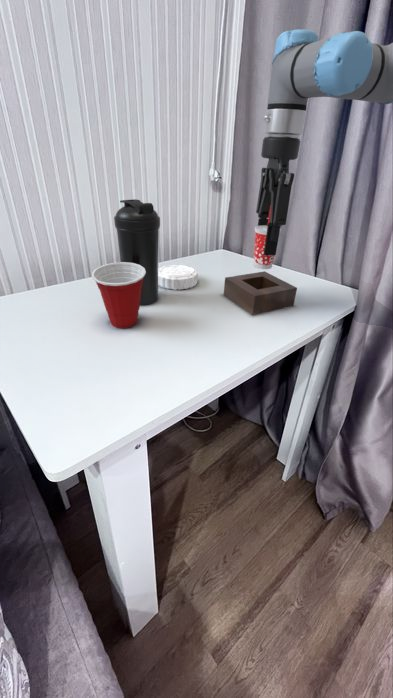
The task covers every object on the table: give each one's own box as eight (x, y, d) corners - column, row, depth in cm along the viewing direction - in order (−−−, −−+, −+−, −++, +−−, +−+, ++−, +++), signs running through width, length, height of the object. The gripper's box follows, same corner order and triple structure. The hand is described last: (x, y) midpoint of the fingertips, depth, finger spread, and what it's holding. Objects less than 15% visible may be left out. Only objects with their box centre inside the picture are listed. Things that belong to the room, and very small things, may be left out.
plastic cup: (88, 328, 71) (79, 274, 64) (115, 308, 79) (110, 259, 73) (133, 339, 68) (129, 283, 61) (156, 317, 76) (154, 266, 70)
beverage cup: (260, 271, 78) (270, 208, 71) (244, 263, 83) (252, 203, 75) (280, 268, 81) (291, 206, 73) (264, 260, 85) (273, 202, 78)
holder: (262, 288, 94) (264, 271, 91) (293, 306, 84) (297, 287, 82) (223, 295, 89) (225, 277, 86) (252, 315, 79) (255, 296, 76)
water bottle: (146, 287, 91) (142, 196, 79) (169, 299, 85) (169, 203, 72) (113, 296, 85) (103, 199, 73) (136, 310, 79) (129, 207, 66)
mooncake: (188, 293, 89) (188, 280, 87) (148, 285, 92) (147, 273, 90) (203, 278, 98) (203, 267, 97) (166, 272, 102) (166, 261, 100)
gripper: (251, 135, 75) (239, 239, 87) (281, 135, 59) (262, 263, 71) (282, 137, 76) (267, 239, 88) (320, 137, 60) (295, 263, 72)
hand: (264, 250), depth 80 cm, fingers closed on beverage cup, 6 cm apart
